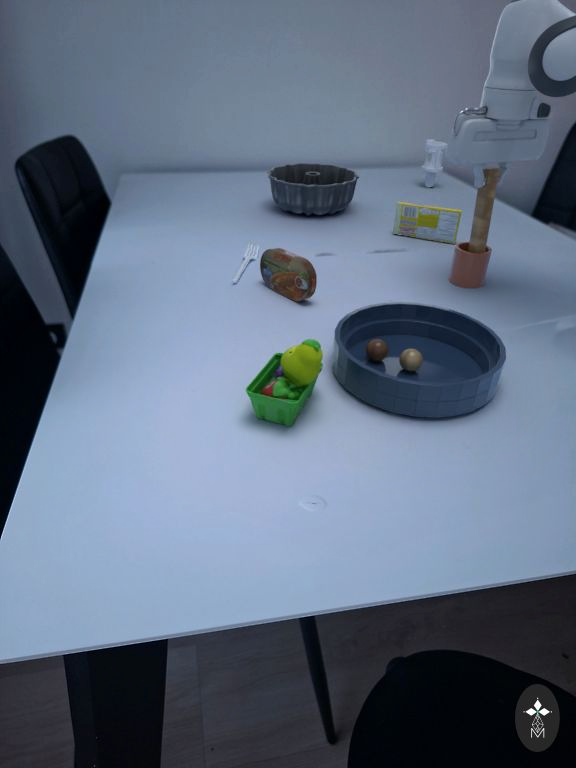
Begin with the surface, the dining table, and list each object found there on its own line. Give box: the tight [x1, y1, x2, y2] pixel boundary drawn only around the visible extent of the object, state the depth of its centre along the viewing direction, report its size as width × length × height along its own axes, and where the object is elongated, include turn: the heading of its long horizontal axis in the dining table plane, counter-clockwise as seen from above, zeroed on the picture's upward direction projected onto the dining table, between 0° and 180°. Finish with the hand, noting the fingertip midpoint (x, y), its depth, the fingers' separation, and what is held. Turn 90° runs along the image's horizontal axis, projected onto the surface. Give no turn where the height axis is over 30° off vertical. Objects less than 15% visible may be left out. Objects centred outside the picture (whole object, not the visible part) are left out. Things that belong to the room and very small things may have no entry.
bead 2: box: [399, 349, 423, 372], centre depth 83 cm, size 4×4×4 cm
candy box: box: [392, 201, 463, 245], centre depth 136 cm, size 16×2×8 cm, turn 65°
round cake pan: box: [331, 301, 507, 418], centre depth 83 cm, size 26×26×6 cm
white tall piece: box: [420, 138, 448, 187], centre depth 178 cm, size 7×7×15 cm
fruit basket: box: [245, 338, 324, 427], centre depth 73 cm, size 11×9×11 cm
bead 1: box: [366, 339, 389, 361], centre depth 85 cm, size 4×4×4 cm
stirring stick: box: [468, 166, 500, 253], centre depth 106 cm, size 2×2×18 cm
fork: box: [232, 243, 260, 284], centre depth 119 cm, size 3×20×2 cm, turn 171°
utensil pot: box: [448, 241, 493, 290], centre depth 112 cm, size 7×7×8 cm
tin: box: [259, 247, 318, 303], centre depth 106 cm, size 15×3×8 cm, turn 40°
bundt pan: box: [267, 162, 360, 217], centre depth 156 cm, size 26×26×10 cm
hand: (487, 186), depth 103 cm, fingers closed on stirring stick, 2 cm apart
